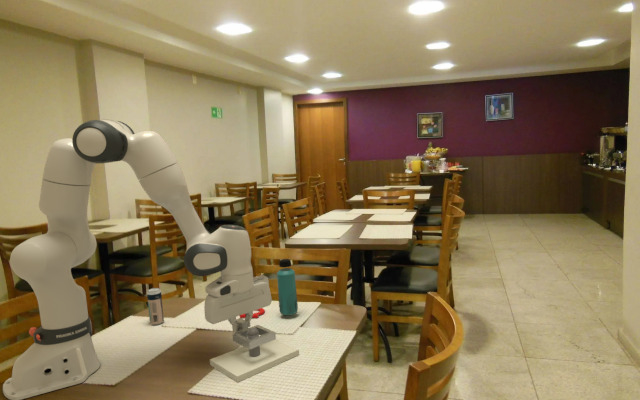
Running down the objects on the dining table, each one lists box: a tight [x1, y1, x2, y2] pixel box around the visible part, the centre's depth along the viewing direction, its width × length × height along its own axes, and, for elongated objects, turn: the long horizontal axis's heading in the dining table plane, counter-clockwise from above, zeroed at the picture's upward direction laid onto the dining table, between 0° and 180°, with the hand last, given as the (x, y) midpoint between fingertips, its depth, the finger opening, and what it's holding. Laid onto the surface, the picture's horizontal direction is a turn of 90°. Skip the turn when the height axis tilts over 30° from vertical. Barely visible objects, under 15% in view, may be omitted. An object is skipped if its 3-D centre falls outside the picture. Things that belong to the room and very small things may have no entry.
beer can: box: [146, 287, 165, 326], centre depth 155 cm, size 5×5×12 cm
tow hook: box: [239, 307, 266, 319], centre depth 160 cm, size 8×13×9 cm
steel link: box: [232, 317, 277, 349], centre depth 124 cm, size 12×8×4 cm
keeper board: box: [209, 328, 300, 383], centre depth 123 cm, size 20×14×9 cm
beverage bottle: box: [276, 258, 299, 316], centre depth 155 cm, size 6×7×20 cm
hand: (241, 329), depth 127 cm, fingers closed on steel link, 2 cm apart
